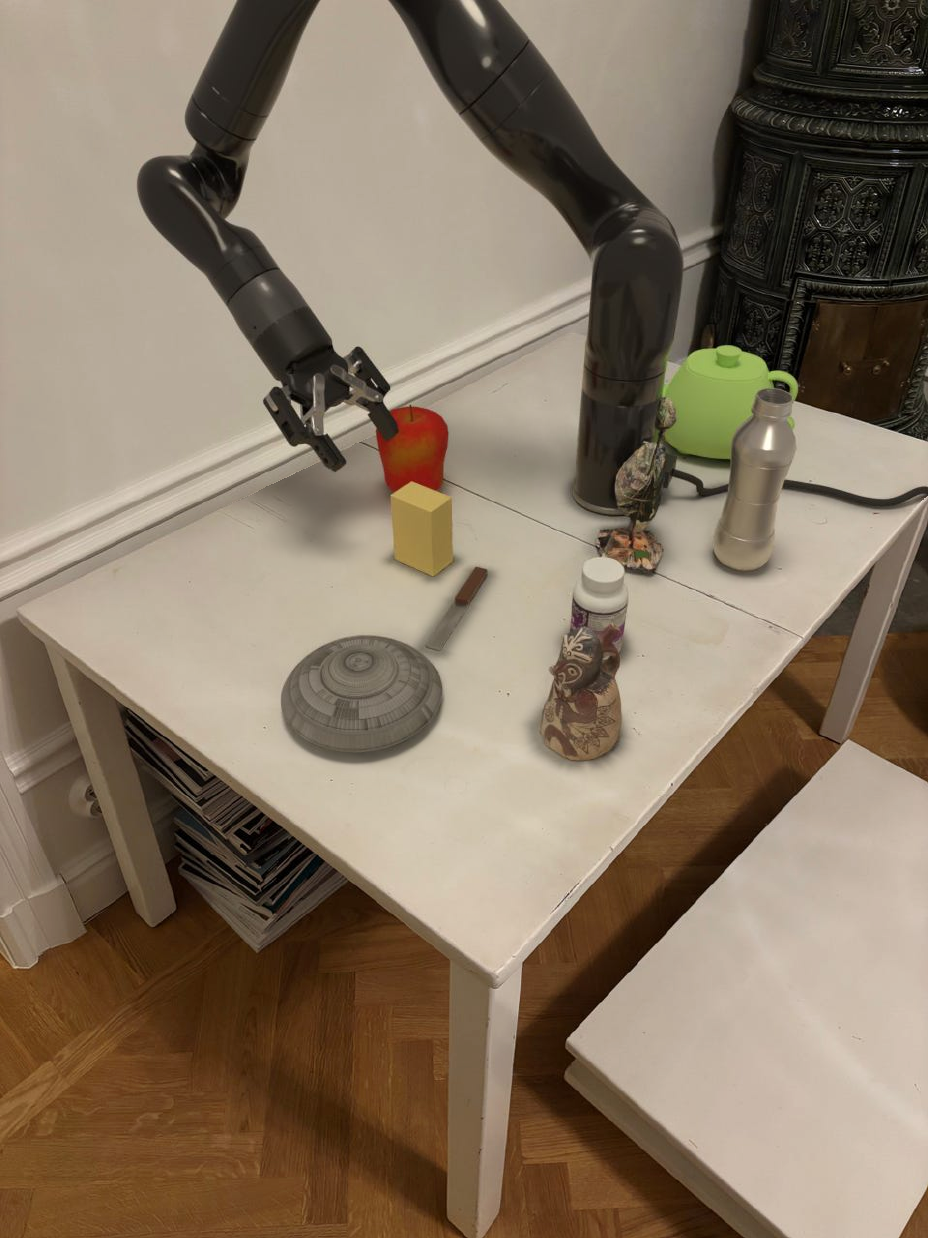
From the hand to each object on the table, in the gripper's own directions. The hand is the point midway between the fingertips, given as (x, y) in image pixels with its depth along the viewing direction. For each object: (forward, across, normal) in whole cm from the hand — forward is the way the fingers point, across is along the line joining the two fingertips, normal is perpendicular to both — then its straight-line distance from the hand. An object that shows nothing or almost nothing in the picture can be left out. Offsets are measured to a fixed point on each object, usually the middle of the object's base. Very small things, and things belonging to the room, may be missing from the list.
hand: (367, 451), depth 102 cm
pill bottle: (+30, -1, -13) cm, 33 cm away
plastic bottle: (+34, +21, -17) cm, 43 cm away
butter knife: (+19, -4, -3) cm, 20 cm away
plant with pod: (+26, +16, -9) cm, 32 cm away
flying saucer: (+20, -21, -4) cm, 30 cm away
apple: (+6, +11, +10) cm, 16 cm away
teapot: (+23, +44, -6) cm, 50 cm away
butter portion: (+13, 0, +3) cm, 13 cm away
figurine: (+33, -12, -17) cm, 39 cm away
